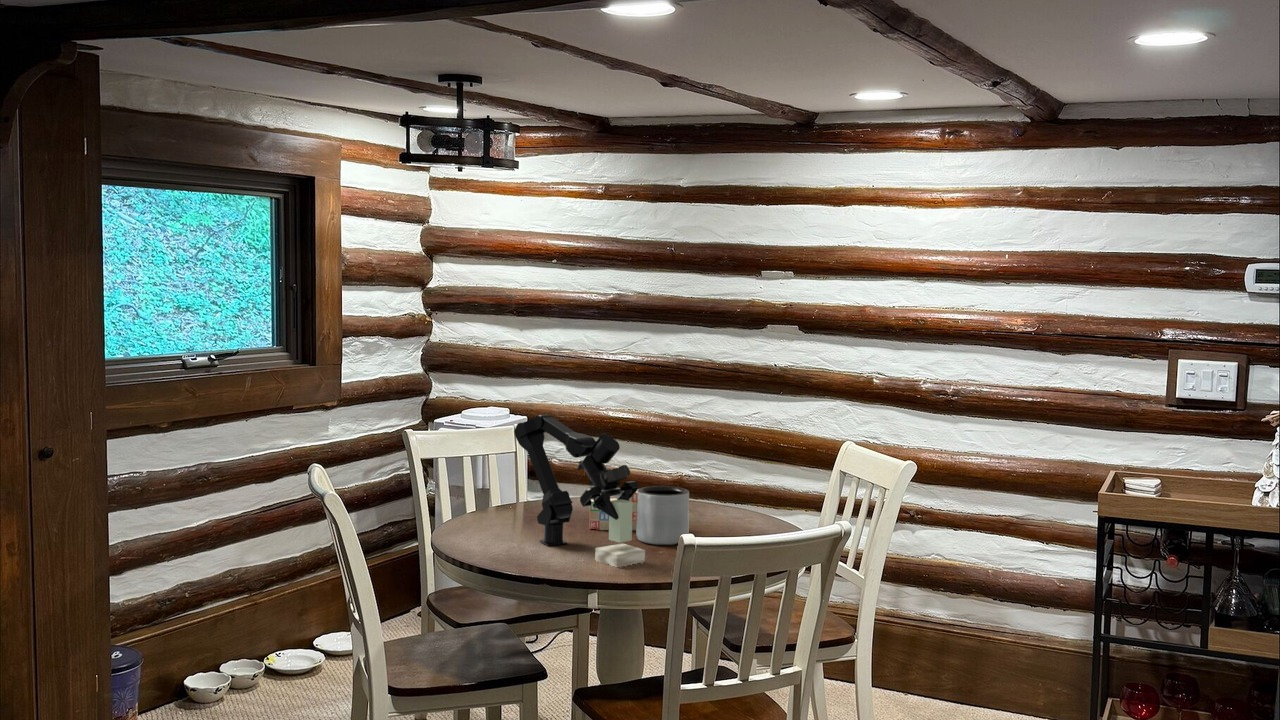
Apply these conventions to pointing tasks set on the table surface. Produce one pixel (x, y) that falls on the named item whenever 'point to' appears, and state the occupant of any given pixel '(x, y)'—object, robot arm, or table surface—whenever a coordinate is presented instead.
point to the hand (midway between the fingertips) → (623, 517)
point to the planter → (662, 514)
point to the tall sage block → (621, 521)
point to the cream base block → (619, 555)
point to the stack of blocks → (601, 519)
